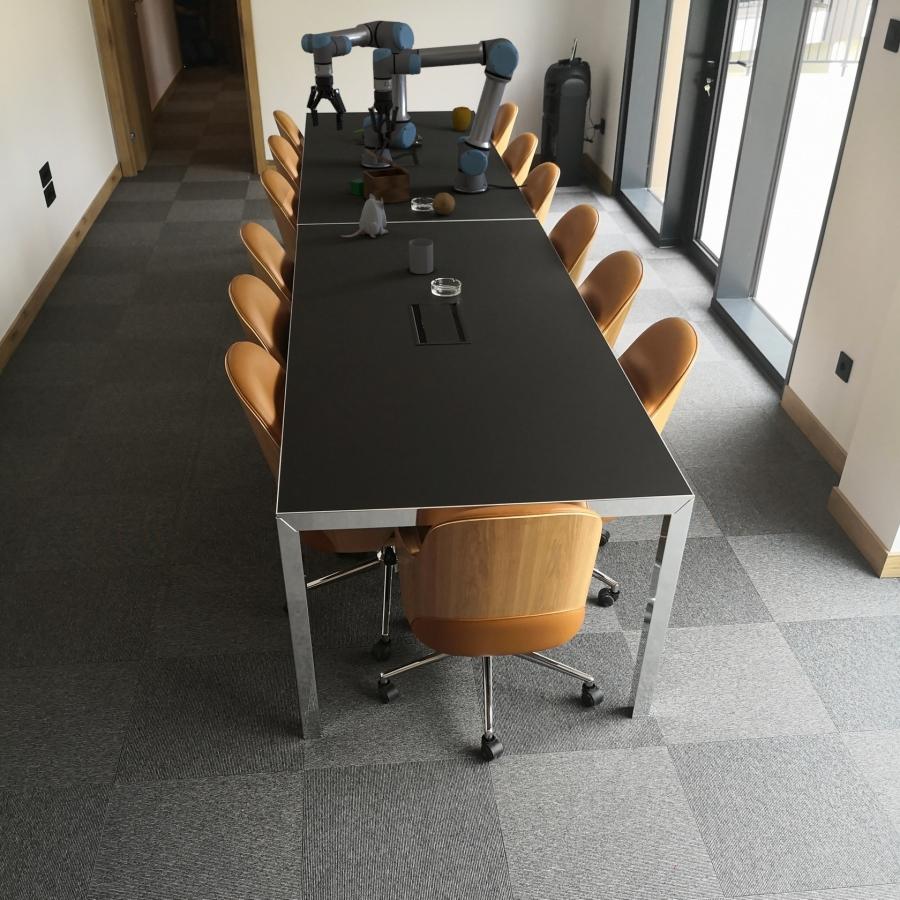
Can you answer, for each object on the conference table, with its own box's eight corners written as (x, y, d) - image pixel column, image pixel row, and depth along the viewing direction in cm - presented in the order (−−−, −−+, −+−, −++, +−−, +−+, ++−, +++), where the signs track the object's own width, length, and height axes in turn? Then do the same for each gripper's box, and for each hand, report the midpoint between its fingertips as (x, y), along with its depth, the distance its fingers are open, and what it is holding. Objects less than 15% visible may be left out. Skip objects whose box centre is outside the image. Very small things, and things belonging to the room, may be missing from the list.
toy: (393, 232, 342) (392, 194, 333) (348, 247, 327) (345, 208, 319) (378, 227, 347) (376, 190, 339) (332, 242, 332) (330, 203, 324)
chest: (373, 204, 373) (372, 178, 367) (364, 197, 382) (363, 171, 376) (409, 200, 379) (409, 174, 373) (399, 193, 388) (399, 167, 382)
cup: (409, 265, 311) (408, 238, 306) (432, 265, 312) (431, 238, 307) (410, 274, 304) (409, 246, 299) (433, 273, 305) (433, 246, 299)
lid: (375, 157, 363) (384, 137, 360) (365, 150, 372) (374, 130, 369) (408, 174, 372) (418, 154, 370) (398, 167, 382) (407, 148, 379)
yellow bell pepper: (471, 132, 486) (471, 108, 479) (451, 132, 486) (451, 108, 479) (470, 128, 495) (471, 104, 488) (452, 128, 495) (452, 104, 488)
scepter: (408, 126, 469) (352, 123, 467) (408, 141, 462) (351, 138, 459) (408, 135, 474) (352, 133, 471) (408, 150, 467) (352, 148, 464)
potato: (453, 208, 369) (453, 189, 365) (456, 218, 357) (456, 199, 353) (431, 208, 368) (430, 189, 364) (432, 218, 356) (432, 199, 352)
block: (359, 195, 385) (358, 183, 382) (350, 193, 388) (349, 180, 385) (367, 192, 388) (367, 180, 385) (359, 190, 391) (358, 178, 388)
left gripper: (295, 73, 364) (300, 125, 376) (340, 79, 352) (344, 133, 364) (307, 70, 369) (311, 122, 381) (352, 76, 358) (355, 130, 369)
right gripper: (369, 92, 351) (371, 152, 363) (403, 90, 356) (404, 149, 369) (362, 89, 356) (365, 148, 369) (396, 87, 362) (397, 145, 374)
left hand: (327, 128), depth 372 cm, fingers open, 13 cm apart
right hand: (384, 148), depth 369 cm, fingers closed on lid, 2 cm apart
